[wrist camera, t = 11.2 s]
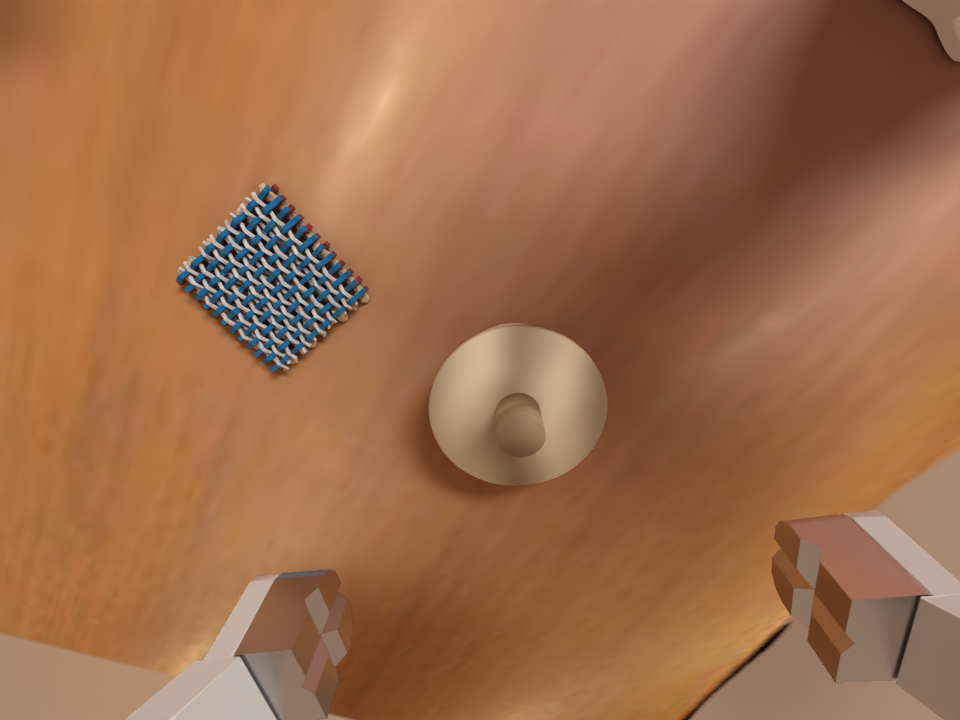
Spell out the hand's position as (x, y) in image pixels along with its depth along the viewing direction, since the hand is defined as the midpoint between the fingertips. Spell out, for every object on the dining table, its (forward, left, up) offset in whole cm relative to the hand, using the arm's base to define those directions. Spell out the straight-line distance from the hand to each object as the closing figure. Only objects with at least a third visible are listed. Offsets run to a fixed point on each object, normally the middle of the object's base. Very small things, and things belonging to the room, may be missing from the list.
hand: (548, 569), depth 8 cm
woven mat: (+16, -2, -27) cm, 32 cm away
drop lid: (0, +8, -21) cm, 23 cm away
